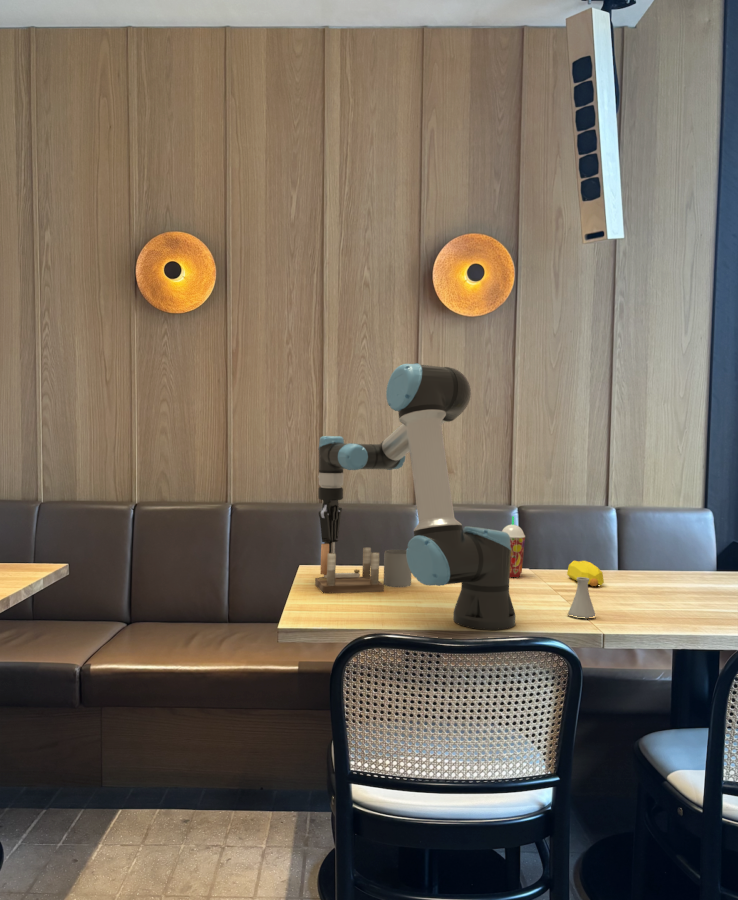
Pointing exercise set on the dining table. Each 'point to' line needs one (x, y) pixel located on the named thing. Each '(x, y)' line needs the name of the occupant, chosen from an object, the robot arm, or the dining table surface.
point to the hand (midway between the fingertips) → (329, 563)
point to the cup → (396, 569)
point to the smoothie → (515, 548)
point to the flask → (582, 600)
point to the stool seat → (352, 583)
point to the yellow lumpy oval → (586, 572)
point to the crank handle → (324, 564)
